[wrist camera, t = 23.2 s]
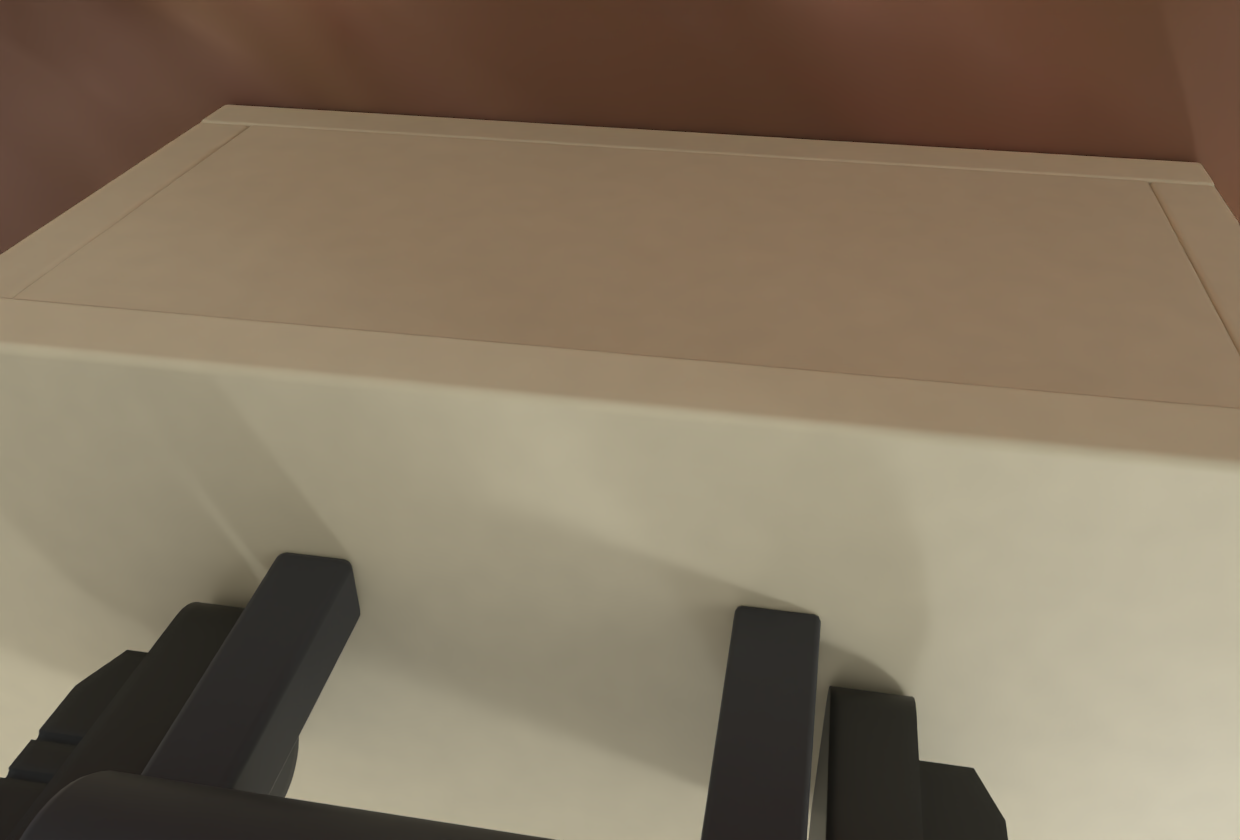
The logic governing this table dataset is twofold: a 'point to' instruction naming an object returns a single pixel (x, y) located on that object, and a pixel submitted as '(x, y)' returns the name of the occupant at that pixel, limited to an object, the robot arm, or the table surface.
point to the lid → (604, 583)
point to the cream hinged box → (674, 248)
